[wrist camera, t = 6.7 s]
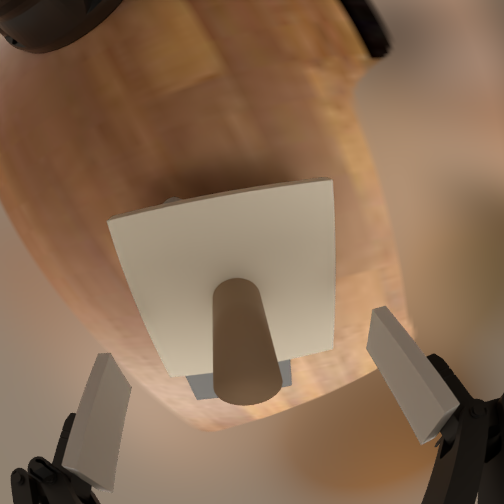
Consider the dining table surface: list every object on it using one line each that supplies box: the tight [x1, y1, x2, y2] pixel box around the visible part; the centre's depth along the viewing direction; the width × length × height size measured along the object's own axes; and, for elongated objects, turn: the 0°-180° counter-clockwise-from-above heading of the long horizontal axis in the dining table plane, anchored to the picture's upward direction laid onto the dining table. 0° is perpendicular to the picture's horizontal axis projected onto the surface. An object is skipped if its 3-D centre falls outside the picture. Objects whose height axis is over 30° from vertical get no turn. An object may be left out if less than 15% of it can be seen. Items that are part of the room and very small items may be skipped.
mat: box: [186, 359, 292, 400], centre depth 31 cm, size 13×13×1 cm
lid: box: [107, 177, 336, 405], centre depth 15 cm, size 13×13×8 cm
